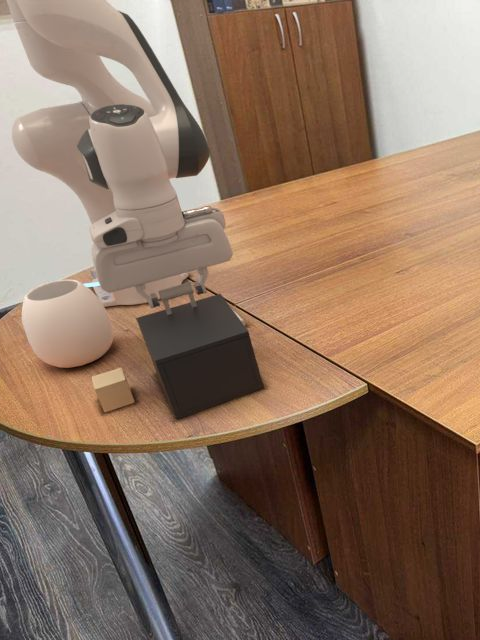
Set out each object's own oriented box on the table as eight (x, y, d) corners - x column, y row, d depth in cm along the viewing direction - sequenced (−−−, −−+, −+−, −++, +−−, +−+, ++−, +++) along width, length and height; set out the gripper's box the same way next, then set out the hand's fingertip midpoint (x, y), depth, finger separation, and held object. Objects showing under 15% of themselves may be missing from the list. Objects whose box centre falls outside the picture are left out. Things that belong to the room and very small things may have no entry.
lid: (137, 322, 107) (127, 294, 104) (221, 297, 113) (213, 270, 110) (156, 365, 95) (145, 335, 92) (249, 335, 101) (241, 306, 98)
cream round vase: (30, 360, 118) (-3, 294, 111) (103, 331, 126) (77, 267, 120) (57, 385, 111) (24, 315, 104) (133, 351, 119) (107, 285, 112)
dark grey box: (157, 374, 111) (138, 324, 106) (237, 348, 117) (222, 299, 112) (176, 419, 100) (156, 365, 95) (264, 388, 106) (249, 335, 101)
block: (101, 399, 106) (91, 376, 104) (130, 389, 108) (121, 367, 106) (104, 412, 103) (94, 389, 100) (135, 402, 105) (125, 379, 102)
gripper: (215, 198, 106) (236, 275, 114) (77, 229, 98) (109, 310, 105) (225, 208, 102) (246, 287, 109) (82, 241, 93) (115, 325, 100)
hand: (178, 299), depth 107 cm, fingers open, 6 cm apart
